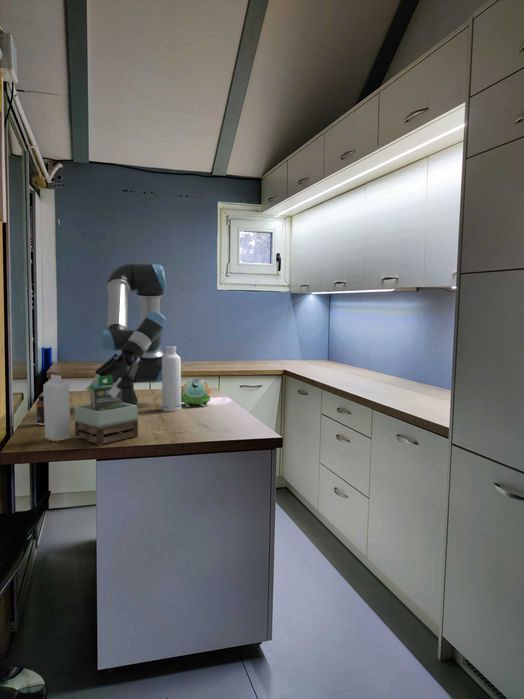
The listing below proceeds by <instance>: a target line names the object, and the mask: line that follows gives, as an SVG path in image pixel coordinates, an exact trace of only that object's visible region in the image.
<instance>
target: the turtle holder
mask: <svg viewBox="0 0 524 699" xmlns="http://www.w3.org/2000/svg"><path fill="white" fill-rule="evenodd" d="M210 400H211V392H210V387H209V385H208V384H207V383H206V382H205V381H204V379H203V378H201V379H200V378H190V379H188V380H187V381H186V383H185V384H183V386H182V387H181V403H184V406H185V408H191V406H190V405H189V403H191V404H198V406H199V407H200V406H202V407H201V408H203V406H205V407H206V404H203V403H208V404H209V402H210Z"/></svg>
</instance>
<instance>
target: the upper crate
mask: <svg viewBox="0 0 524 699" xmlns="http://www.w3.org/2000/svg"><path fill="white" fill-rule="evenodd" d="M138 410H139V409H138V406H137V405H132V404H127V403H122V408H118V409H112V410H106V411H100V412H99V411H95V410H91V403H88V404H82V405H76V406H74V422H75V421H77V422H81V423H84V424H88V425H92V426H95V427H104V426H109V425H114V424H119V423H124V422H129V421H134V420H138V421H139V418H138V417H139V416H138V414H139V413H138Z"/></svg>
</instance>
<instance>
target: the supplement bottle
mask: <svg viewBox="0 0 524 699" xmlns="http://www.w3.org/2000/svg"><path fill="white" fill-rule="evenodd" d="M35 406H36V408H35V409H36V424H37V423H42V424H43V423H45V421H44V394H40V395H38V400H37V402H36V404H35Z"/></svg>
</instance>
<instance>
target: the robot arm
mask: <svg viewBox="0 0 524 699" xmlns="http://www.w3.org/2000/svg"><path fill="white" fill-rule="evenodd" d="M165 274H166V273H165V270H164V267H163V265H161V264H154V263H125V264H122V265H119V266H118V267H117V268H116V269H114V271H112V273H111V274H110V275H109V277H108V278H107V283H106V291H107V292H108V305H107V306H108V308H107V309H108V311H107V328H106V329H105V330H102V331H101V332H100V333H101V334H100V344H101V349H102V350H104V351H121V354H119V355H118V354H117V353H114V354H113V356H111V357H109V358H108V359H107V361H106V362H105V363H103V364H101V366H100V367H98V368H97V369H96V370H95V371H94V373H95V374H96V375H95V377H94V378H93V379H92V380H91V382H90V383H89V384H88V386H86V390H87V391H88V392H89V393H90V385H94V384H99V377H100V376H111V375H112V376H113V383H115V384H114V386H113V387H112V388H111V390H110V391H109V392H108V393H109V394H110V395H111V396H112V397H113V398H115V397H116V395H117V394H118V393H119V391H120V390H121V391H122V403H127V404H132V405H137V407H138V406H139V400H138V397H137V395H136V391H135V389H134V388H135V387H134V386H135V384H143V383H145V384H146V383H148V384H149V383H152V384H155V383H162V357H163V356H164V355H165V353H164V352H163V351H162V350H161V344H162V339H161V338H162V331H163V330H164V329H165V327H166V325H167V324H168V320H167V319H166V317H165V315H163V314H162V313H161V299H162V297H163V296H164V292H166V291H167V282H166V276H165ZM131 291H132V292H136V296H137V297H138V298H139V300H140V303H139V304H140V324H139V326H138V327H137V328H136V329H133V330H132V329H128V306H129V305H128V302H129V300H128V295H129V294H130V292H131ZM107 382H109V379H106V383H107Z"/></svg>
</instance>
